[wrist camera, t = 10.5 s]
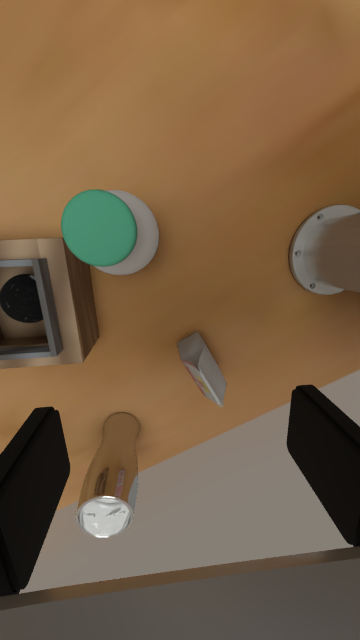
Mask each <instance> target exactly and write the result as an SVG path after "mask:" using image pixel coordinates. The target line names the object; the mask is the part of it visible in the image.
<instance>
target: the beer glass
mask: <svg viewBox="0 0 360 640" xmlns="http://www.w3.org/2000/svg"><path fill="white" fill-rule="evenodd" d="M139 431H140V425H139V422H138V420H137V419H136V418H135V417H134V416H132V415H130V414H128V413H116V414H113V415H111V416H110V417H109V418H108V419H107V420H106V421H105V423H104V427H103V439H102V442H101V444H100V446H99V448H98V450H97V452H96V454H95V456H94V458H93V460H92V462H91V464H90V466H89V468H88V470H87V473H86V476H85V479H84V482H83V486H82V489H81V494H80V498H79V503H78V508H77V512H76V515H75V521H76V524H77V526H78V528H79V529H80V530H81V531H82V532H83V533H85V534H86V535H88V536H91V537H94V538H101V539H106V538H112V537H116V536H118V535H121V534H122V533H124V532H125V531H126V530H128V529H129V527H130V526H131V524H132V522H133V519H134V510H135V504H136V498H137V490H138V462H137V454H136V440H137V437H138V434H139Z"/></svg>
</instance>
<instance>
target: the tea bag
mask: <svg viewBox="0 0 360 640" xmlns="http://www.w3.org/2000/svg"><path fill="white" fill-rule="evenodd" d="M177 344H178V349H179V354H180V358H181V360H182V362H183V364H184V365H185V367H186V368H187V370H188V371H189V373H190V375H191V376H192V378H193V379H194V381H195V382H196V384H197V385H198V387H199V389H200V390H201V392H202V393H203V395H204V396H205V397H207V398H209V399H210V400H212V401H214V402H215V403H216V404H218V405H219V406H220V404H221V405H222V406H223V399H224V394H225V389H226V385H227V383H226V381H225V379H224V377H223V375H222V373H221V371H220V369H219V367H218V365H217V363H216V361H215V360H214V358H213V356H212V355H211V353H210V351H209V350H208V348H207V346H206V344H205V343H204V341H203V339H202V338H201V336H200V334H199V333H198V331H197V332H195V333H193V334H192V335H190V336H188V337H186V338H185V339H183V340H181V341H179V342H178V343H177ZM219 403H220V404H219ZM220 408H221V407H220Z"/></svg>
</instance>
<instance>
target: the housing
mask: <svg viewBox="0 0 360 640" xmlns="http://www.w3.org/2000/svg"><path fill="white" fill-rule="evenodd" d="M20 274H31V275H35V280H36V285H37V290H38V295H39V299H40V304H41V309H42V314H43V319H44V320H42V321H39V322H36V323H23V322H19V321H16V320H14V319H12V318H11V317H9V316H8V315H7V314H6V313H5V312H4V311H3V310H2V308H1V306H0V369H5V368H19V367H33V366H46V365H60V364H74V363H83V362H84V360H85V359H86V357H87V355H88V354H89V352H90V351H91V349H92V347H93V346H94V344H95V343H96V341H97V339H98V338H99V332H98V325H97V318H96V311H95V303H94V296H93V289H92V282H91V275H90V268H89V264H87V263H85V262H83V261H81V260H80V259H79V258H77V257H76V256H75V255H74V254H73V253H72V252H71V250H70V249H69V248H68V246H67V244H66V242H65V240H64V238H48V239H21V240H0V291H1V288H2V287H3V285H4V284H5V283H6V282H7V281H8V280H9V279H10V278H12V277H14V276H16V275H20Z"/></svg>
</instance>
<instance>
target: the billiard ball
mask: <svg viewBox="0 0 360 640" xmlns="http://www.w3.org/2000/svg"><path fill="white" fill-rule="evenodd" d="M0 306H1V308H2V310H3V311H4V312H5V313H6V314H7V315H8V316H9V317H11V318H12V319H14V320H16V321H19V322H23V323H36V322H39V321H42V320H44V319H43V314H42V309H41V304H40V299H39V295H38V290H37V285H36V280H35V275H31V274H20V275H16V276H14V277H12V278H10V279H9V280H8V281H7V282H6V283H5V284H4V285H3V287H2V288H1V291H0Z"/></svg>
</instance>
